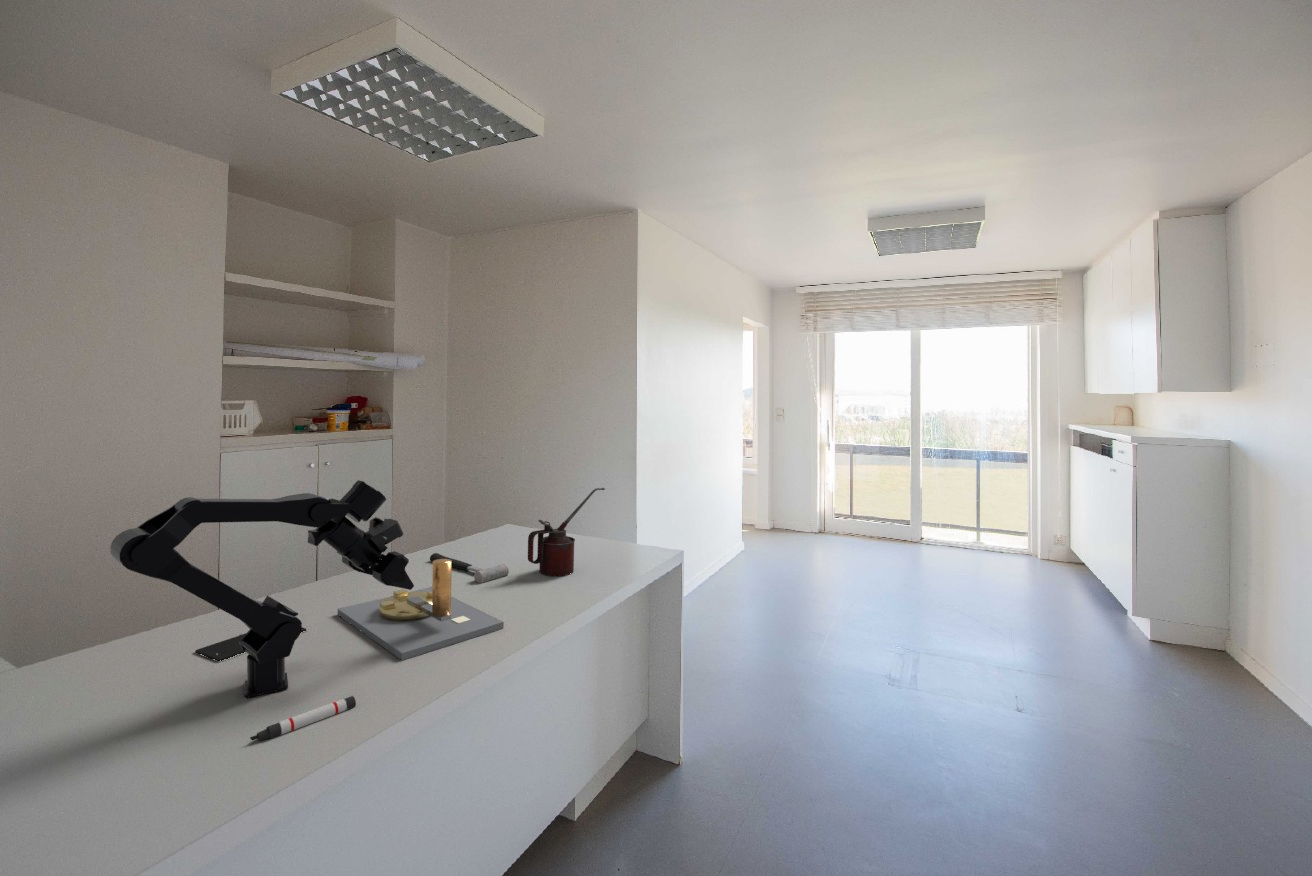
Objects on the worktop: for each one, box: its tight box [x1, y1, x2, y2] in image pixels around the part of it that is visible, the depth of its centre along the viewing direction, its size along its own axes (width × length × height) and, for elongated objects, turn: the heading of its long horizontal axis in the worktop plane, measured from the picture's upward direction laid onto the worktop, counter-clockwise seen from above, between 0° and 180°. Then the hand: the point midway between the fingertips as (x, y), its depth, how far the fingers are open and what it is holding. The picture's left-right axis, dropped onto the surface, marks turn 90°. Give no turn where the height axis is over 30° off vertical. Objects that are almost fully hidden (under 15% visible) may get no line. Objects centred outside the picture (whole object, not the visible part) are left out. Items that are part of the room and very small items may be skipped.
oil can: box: [527, 487, 606, 577], centre depth 184 cm, size 28×11×25 cm, turn 134°
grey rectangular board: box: [337, 586, 505, 661], centre depth 139 cm, size 34×24×2 cm
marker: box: [249, 695, 357, 741], centre depth 95 cm, size 15×2×2 cm, turn 141°
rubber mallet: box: [429, 552, 510, 584], centre depth 180 cm, size 10×4×30 cm
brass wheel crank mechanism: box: [379, 559, 452, 622], centre depth 138 cm, size 24×14×15 cm, turn 49°
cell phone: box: [195, 626, 307, 662], centre depth 125 cm, size 9×18×1 cm, turn 155°
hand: (401, 582), depth 125 cm, fingers open, 9 cm apart
